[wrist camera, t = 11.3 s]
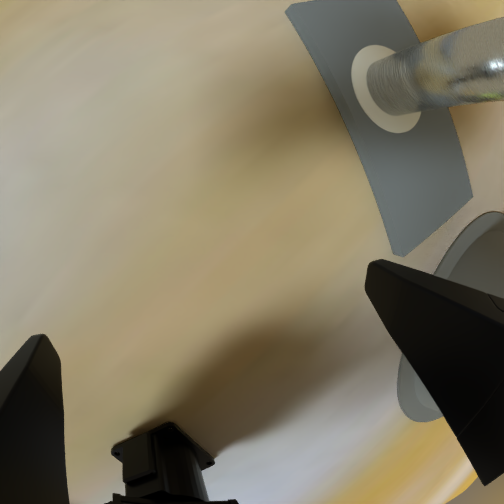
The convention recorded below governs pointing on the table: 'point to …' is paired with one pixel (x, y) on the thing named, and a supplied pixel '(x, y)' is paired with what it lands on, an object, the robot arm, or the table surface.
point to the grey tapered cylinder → (466, 273)
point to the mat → (386, 117)
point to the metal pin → (442, 71)
